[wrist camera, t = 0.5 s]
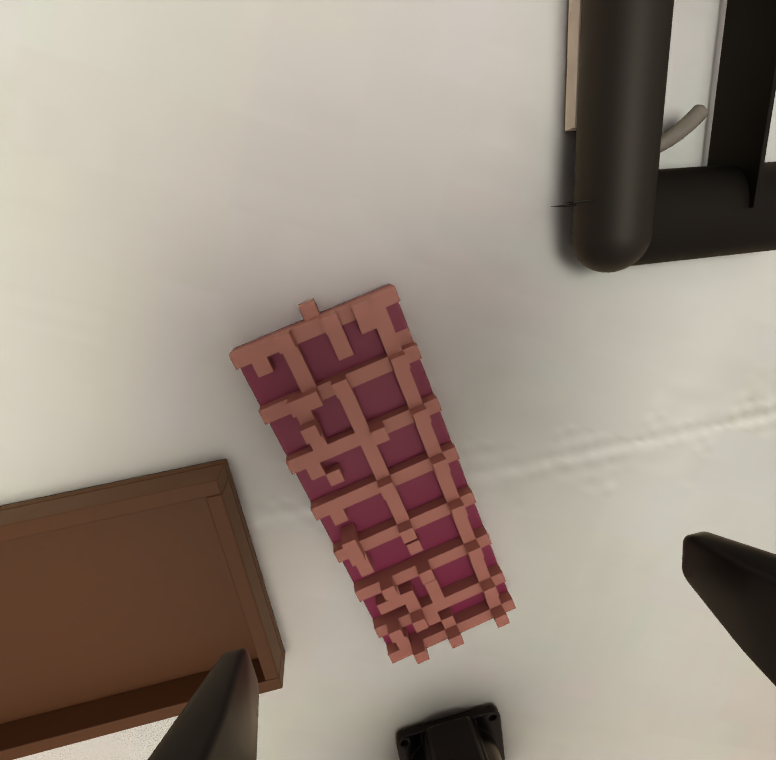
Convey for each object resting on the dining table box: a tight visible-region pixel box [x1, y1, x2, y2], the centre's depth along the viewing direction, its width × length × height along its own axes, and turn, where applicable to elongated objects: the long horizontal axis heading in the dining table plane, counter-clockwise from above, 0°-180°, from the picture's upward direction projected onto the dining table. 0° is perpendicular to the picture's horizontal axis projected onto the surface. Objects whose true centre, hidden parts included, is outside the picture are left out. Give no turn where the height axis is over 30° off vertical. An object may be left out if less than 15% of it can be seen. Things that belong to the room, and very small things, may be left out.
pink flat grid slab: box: [229, 284, 516, 664], centre depth 21 cm, size 7×19×2 cm, turn 21°
